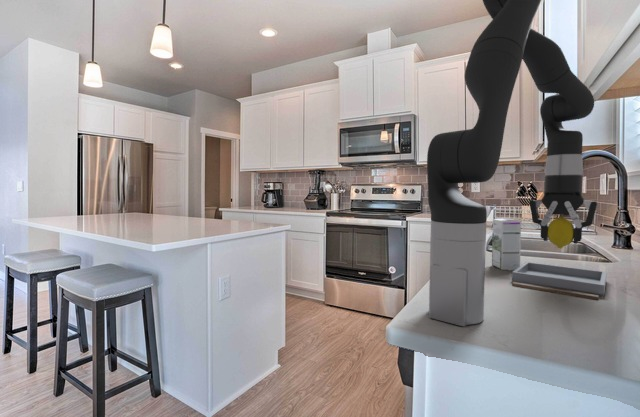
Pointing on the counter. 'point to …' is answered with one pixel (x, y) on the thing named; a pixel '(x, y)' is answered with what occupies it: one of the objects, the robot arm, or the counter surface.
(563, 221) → the lemon
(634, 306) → the counter surface
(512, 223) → the syrup box
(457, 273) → the robot arm
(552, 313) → the counter surface
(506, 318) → the counter surface
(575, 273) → the tray
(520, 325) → the counter surface
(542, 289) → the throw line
